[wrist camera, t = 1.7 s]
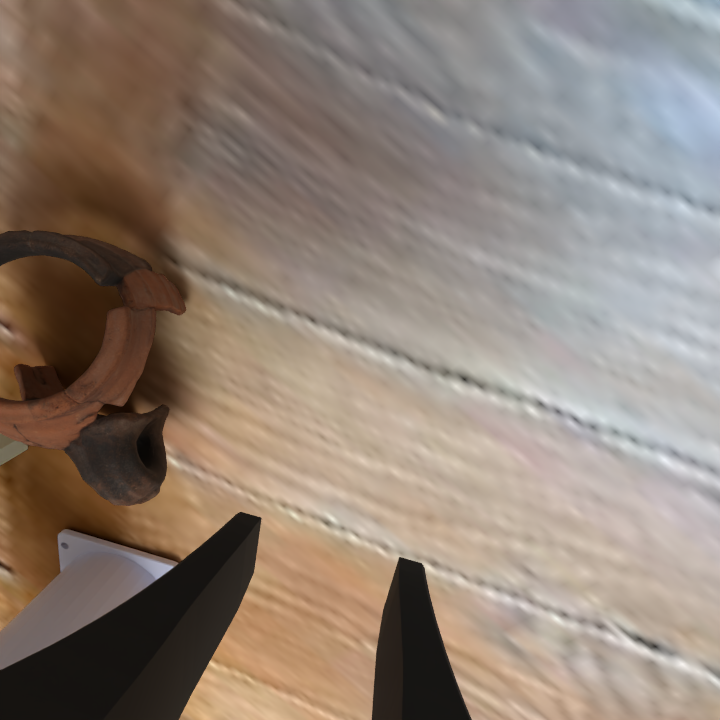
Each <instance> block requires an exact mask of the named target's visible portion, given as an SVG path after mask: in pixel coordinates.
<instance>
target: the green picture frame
mask: <svg viewBox="0 0 720 720" xmlns="http://www.w3.org/2000/svg"><path fill="white" fill-rule="evenodd" d="M27 449H28V445H26V444H23V443H22V442H18V441H15V440H13V439H10V438H8V437H6V436H4V435H2V434H1V433H0V466H1V465H2V464H4V463H6V462H7V461H9V460H11V459H12V458H14V457H16V456H17V455H19V454H21V453H22V452H24V451H26V450H27Z"/></svg>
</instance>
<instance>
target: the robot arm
mask: <svg viewBox="0 0 720 720" xmlns="http://www.w3.org/2000/svg"><path fill="white" fill-rule="evenodd" d="M260 525H261V518H260V517H257V516H253V515H250V514H246V513H243V512H240V513H238V514H236V515H235V516H234V517H233V518H232V519H231V520H230V521H229V522H227V523H226V524H225V525H224V526H223V527H222V528H221V529H220V530H219V531H217V532H216V533H215V534H214V535H213V536H212V537H210V538H209V539H208V540H207V541H206V542H205V543H203V544H202V545H201V546H200V547H199V548H197V549H196V550H195V551H194V552H192V553H191V554H190V555H189V556H187V557H186V558H185V559H184V560H182V561H181V562H180V563H177V562H175V561H173V560H169V559H166V558H163V557H159V556H156V555H153V554H149V553H146V552H142V551H139V550H136V549H132V548H129V547H126V546H122V545H119V544H116V543H112V542H109V541H106V540H102V539H99V538H96V537H92V536H89V535H86V534H82V533H79V532H76V531H72V530H69V529H64V530H62V531H61V532H60V533H59V534H58V548H59V560H60V571H61V573H60V574H59V575H58V576H56V577H55V578H54V579H53V580H52V581H51V582H50V583H49V584H48V585H47V586H46V587H45V588H44V589H43V590H42V591H41V592H40V593H39V594H38V595H37V596H36V597H35V598H34V599H33V600H32V601H31V602H30V603H29V604H28V605H27V606H26V607H25V608H24V609H23V610H22V611H21V612H20V613H19V614H18V615H17V616H16V617H15V618H14V619H13V620H12V621H11V622H10V623H9V624H8V625H7V626H6V627H4V628H3V629H2V630H1V631H0V720H179V718H180V716H181V714H182V712H183V710H184V708H185V706H186V704H187V702H188V700H189V698H190V696H191V694H192V692H193V690H194V689H195V687H196V685H197V683H198V681H199V680H200V678H201V676H202V674H203V672H204V671H205V669H206V667H207V665H208V663H209V661H210V660H211V658H212V656H213V654H214V652H215V651H216V649H217V647H218V645H219V643H220V642H221V640H222V638H223V636H224V634H225V632H226V631H227V629H228V627H229V625H230V623H231V621H232V620H233V618H234V616H235V614H236V612H237V610H238V608H239V606H240V604H241V601H242V599H243V597H244V595H245V592H246V590H247V587H248V585H249V583H250V580H251V578H252V575H253V573H254V568H255V561H256V553H257V546H258V539H259V532H260ZM372 720H472V719H471V717H470V715H469V712H468V710H467V707H466V705H465V702H464V700H463V697H462V695H461V692H460V690H459V687H458V684H457V682H456V679H455V676H454V673H453V671H452V668H451V665H450V662H449V659H448V656H447V653H446V650H445V647H444V644H443V641H442V637H441V634H440V631H439V628H438V624H437V621H436V617H435V614H434V610H433V606H432V602H431V598H430V594H429V589H428V585H427V580H426V574H425V568H424V566H423V565H422V563H418V562H415V561H411V560H408V559H404V558H401V557H399V560H398V563H397V567H396V570H395V573H394V577H393V580H392V583H391V586H390V590H389V593H388V596H387V600H386V603H385V606H384V609H383V615H382V621H381V627H380V633H379V639H378V646H377V652H376V666H375V681H374V695H373V710H372Z"/></svg>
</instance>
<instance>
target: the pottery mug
mask: <svg viewBox="0 0 720 720" xmlns="http://www.w3.org/2000/svg"><path fill="white" fill-rule="evenodd" d="M37 255H46V256H52V257H58V258H62V259H66V260H68V261H71V262H73V263H75V264H76V265H78V266H79V267H81V268H82V269H83V270H85V271H86V272H87V273H88V274H89V275H90V276H91V277H92V278H93V279H94V281H95V282H96V283H97V284H98V285H100V286H116V287H117V289H118V292H119V294H120V296H121V298H122V300H123V303H124V307H118V308H114V309H111V310H109V311H108V312H107V321H106V329H105V334H104V339H103V343H102V346H101V349H100V351H99V353H98V354H97V356H96V358H95V359H94V361H93V362H92V364H91V365H90V367H89V368H88V369H87V370H86V371H85V372H84V373H83V374H82V375H81V376H80V377H79V378H78V379H77V380H76V381H75V382H74V383H72V384H71V385H70V386H69V387H68V388H67V389H66V390H64V388H63V386H62V385H61V383H60V381H59V379H58V377H57V374H56V371H55V369H54V367H53V366H35V367H30V366H28V365H23V364H18V365H16V366H15V367H14V372H15V376H16V379H17V381H18V383H19V386H20V393H21V397H22V400H23V401H14V400H8V399H4V398H0V433H1V434H2V435H4V436H6V437H8V438H10V439H13V440H15V441H18V442H22V443H23V444H26V445H31V446H38V447H43V448H47V449H58V450H64V451H65V453H66V454H67V455H68V456H69V457H70V458H71V459H72V461H73V462H74V463H75V465H76V467H77V469H78V471H79V473H80V475H81V477H82V478H83V480H84V481H85V482H86V483H87V484H89V485H90V486H91V487H92V488H93V489H94V490H95V491H96V492H97V493H98V494H99V495H100V496H101V497H103V498H104V499H106V500H109V501H110V502H111V503H112V504H113V505H125V506H131V505H134V504H142V503H144V502H146V501H149V500H150V499H152V498H153V497H155V496H156V495H157V494H158V493H159V491H160V486H161V484H162V483H163V481H164V479H165V476H166V471H167V460H166V452H165V446H164V442H163V435H162V431H163V427H164V423H165V420H166V418H167V415H168V412H169V407H168V406H166V405H161V406H159V407H158V408H156V409H155V410H153V411H150V412H148V413H143V414H140V413H113V414H109V415H107V416H104V415H100V414H98V411H99V410H100V409H101V408H102V406H103V405H104V404H112V405H115V406H124V404H125V403H126V402H127V400H128V399H129V396H130V394H131V393H132V391H133V389H134V387H135V385H136V383H137V381H138V379H139V378H140V376H141V374H142V373H143V370H144V367H145V363H146V360H147V357H148V353H149V351H150V349H151V346H152V343H153V339H154V334H155V327H156V312H155V311H163V310H166V311H169V312H171V313H174V314H176V315H181V314H183V313H184V312H185V311H186V306H185V304H184V301H183V299H182V297H181V295H180V293H179V291H178V289H177V287H176V286H175V285H174V284H173V283H172V282H170V281H168V280H167V279H166V277H165V276H164V275H163V274H157V273H155V272H153V271H152V268H151V266H150V264H149V263H147V262H146V261H145V260H143V259H141V258H139V257H137V256H136V255H133V254H131V253H129V252H128V251H125V250H123V249H120V248H118V247H116V246H114V245H111V244H108V243H106V242H102V241H99V240H96V239H92V238H88V237H82V236H74V235H62V234H59V233H54V232H47V231H34V232H29V231H25V230H24V231H8V232H5V233H3V234H0V266H1V265H3V264H5V263H7V262H10V261H12V260H16V259H18V258H22V257H27V256H37Z"/></svg>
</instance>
